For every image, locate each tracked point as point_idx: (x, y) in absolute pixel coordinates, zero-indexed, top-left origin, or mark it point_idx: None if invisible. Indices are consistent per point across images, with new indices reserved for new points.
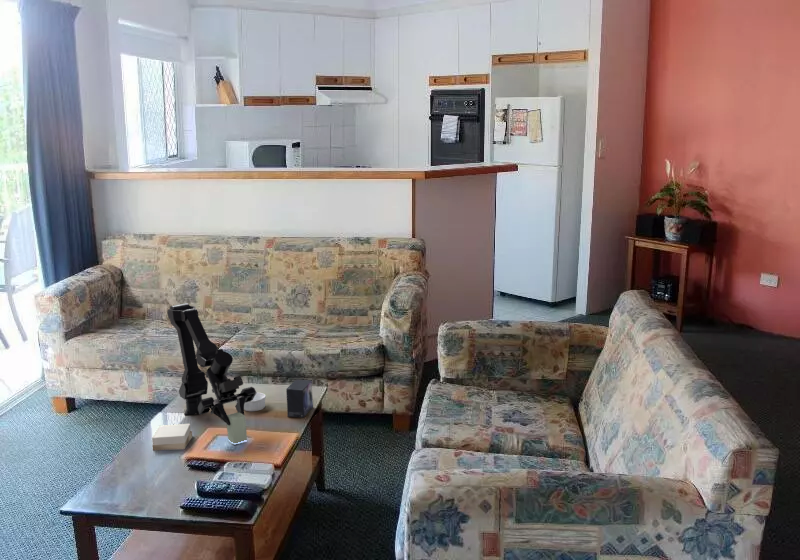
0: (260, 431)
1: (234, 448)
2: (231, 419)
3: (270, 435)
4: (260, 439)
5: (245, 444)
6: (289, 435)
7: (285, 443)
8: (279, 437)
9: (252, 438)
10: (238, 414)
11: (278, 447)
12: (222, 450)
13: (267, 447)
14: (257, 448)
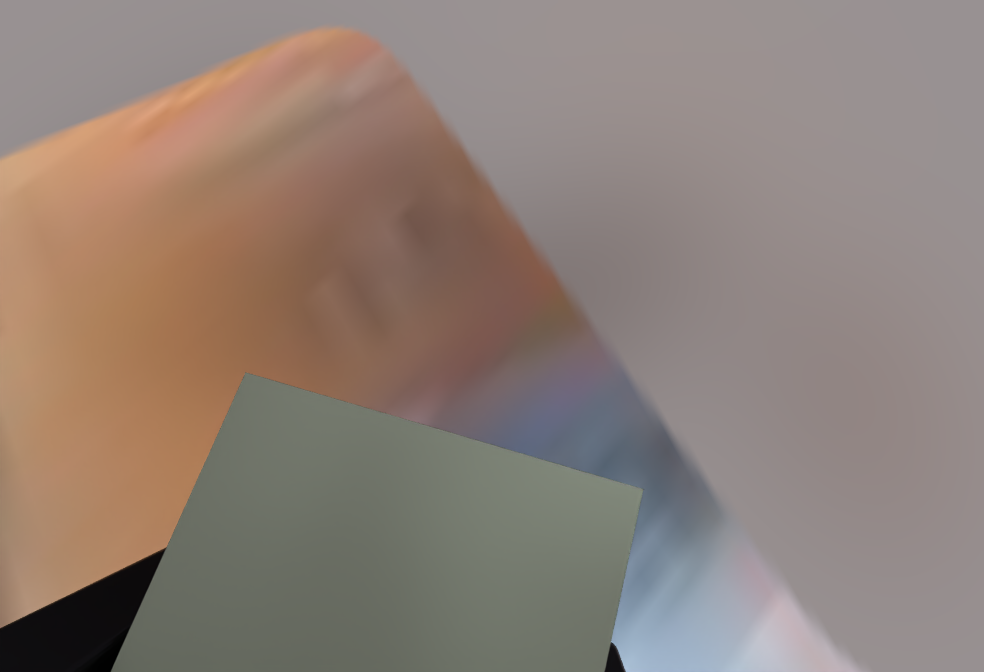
0: (34, 592)
1: (620, 470)
2: (623, 556)
3: (107, 376)
4: None
5: None
6: (37, 202)
7: (230, 107)
8: (121, 251)
9: None
10: (243, 647)
11: (338, 98)
12: (759, 563)
13: (392, 179)
14: (466, 244)
